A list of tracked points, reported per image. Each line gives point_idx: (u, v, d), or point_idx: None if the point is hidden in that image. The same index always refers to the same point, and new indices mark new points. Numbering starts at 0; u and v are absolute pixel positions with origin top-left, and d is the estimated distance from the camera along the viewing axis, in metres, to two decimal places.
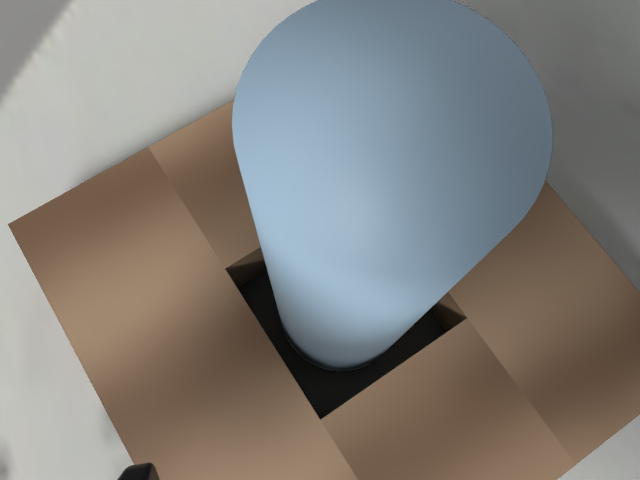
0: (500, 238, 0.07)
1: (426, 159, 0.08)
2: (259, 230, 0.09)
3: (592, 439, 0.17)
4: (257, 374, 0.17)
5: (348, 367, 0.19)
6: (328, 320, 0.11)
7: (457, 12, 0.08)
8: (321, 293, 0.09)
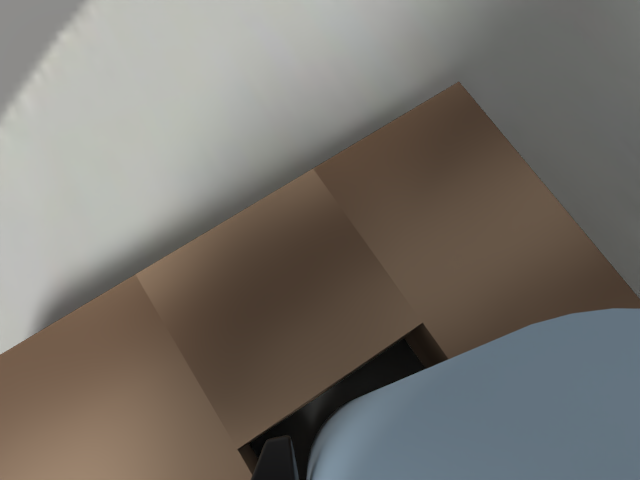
0: None
1: None
2: None
3: None
4: None
5: None
6: None
7: None
8: None
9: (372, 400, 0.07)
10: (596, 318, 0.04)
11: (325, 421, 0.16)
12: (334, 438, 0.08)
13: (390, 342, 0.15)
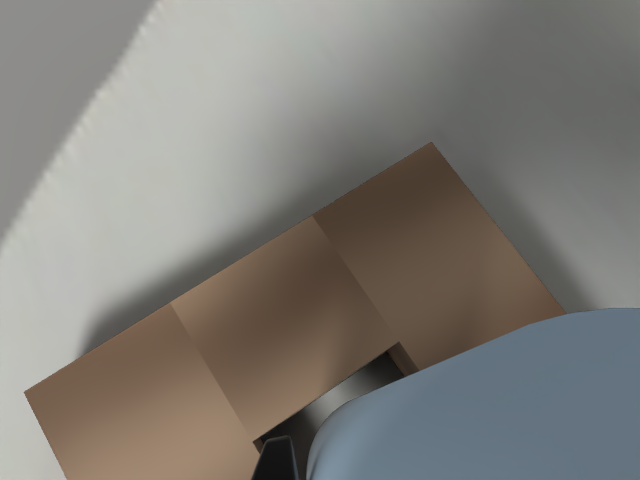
0: None
1: None
2: None
3: None
4: None
5: None
6: None
7: None
8: None
9: (371, 399, 0.07)
10: (593, 316, 0.04)
11: (325, 421, 0.16)
12: (334, 437, 0.08)
13: (373, 357, 0.18)
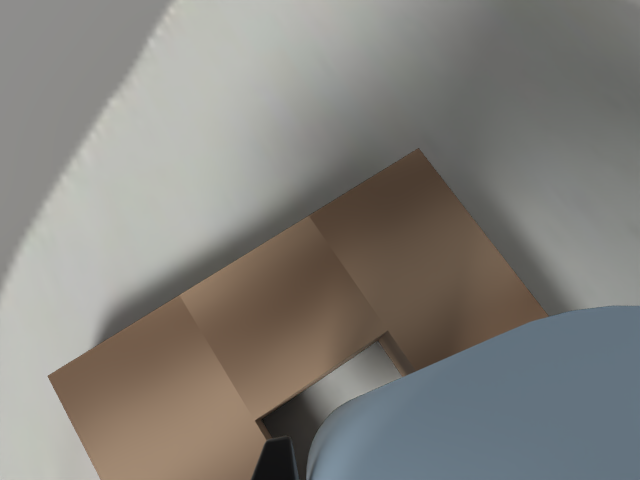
0: None
1: None
2: None
3: None
4: None
5: None
6: None
7: None
8: None
9: (371, 398, 0.07)
10: (595, 315, 0.04)
11: (325, 420, 0.16)
12: (333, 437, 0.08)
13: (364, 344, 0.20)
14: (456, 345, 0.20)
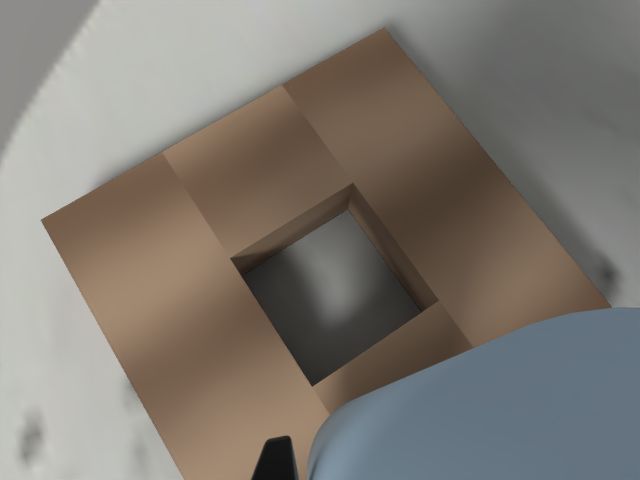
0: None
1: None
2: None
3: None
4: (258, 348, 0.20)
5: None
6: None
7: None
8: None
9: (372, 400, 0.07)
10: (596, 315, 0.04)
11: (325, 421, 0.16)
12: (334, 438, 0.08)
13: (331, 194, 0.22)
14: (415, 195, 0.22)
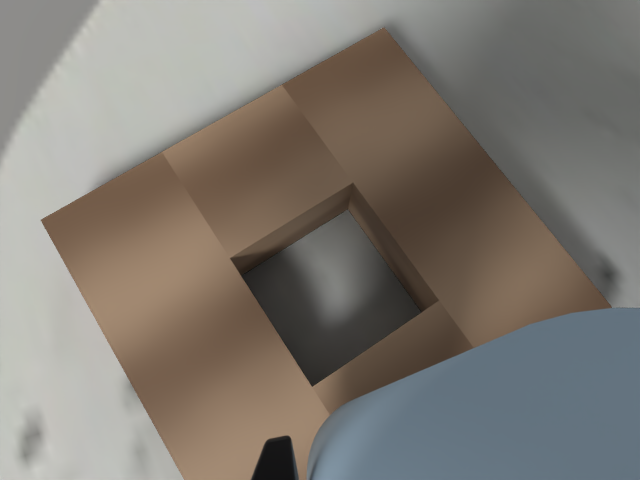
0: None
1: None
2: None
3: None
4: (258, 348, 0.20)
5: None
6: None
7: None
8: None
9: (372, 400, 0.07)
10: (596, 315, 0.04)
11: (325, 421, 0.16)
12: (334, 438, 0.08)
13: (331, 194, 0.22)
14: (415, 195, 0.22)
